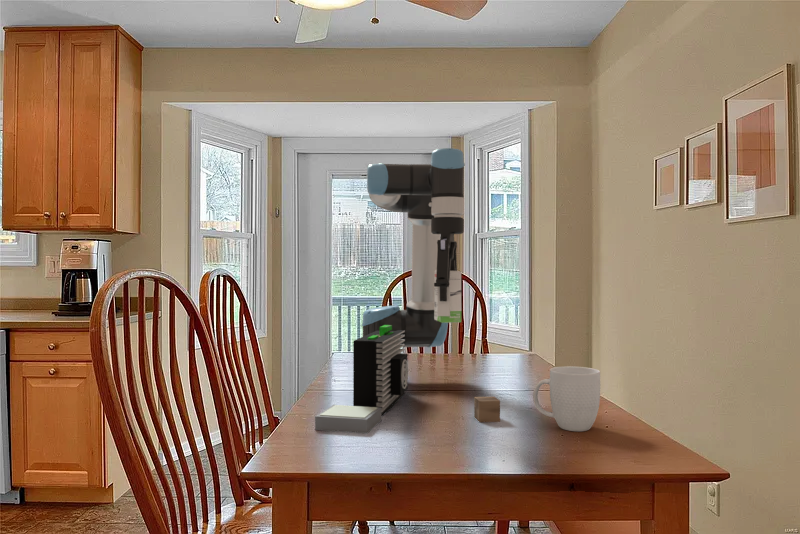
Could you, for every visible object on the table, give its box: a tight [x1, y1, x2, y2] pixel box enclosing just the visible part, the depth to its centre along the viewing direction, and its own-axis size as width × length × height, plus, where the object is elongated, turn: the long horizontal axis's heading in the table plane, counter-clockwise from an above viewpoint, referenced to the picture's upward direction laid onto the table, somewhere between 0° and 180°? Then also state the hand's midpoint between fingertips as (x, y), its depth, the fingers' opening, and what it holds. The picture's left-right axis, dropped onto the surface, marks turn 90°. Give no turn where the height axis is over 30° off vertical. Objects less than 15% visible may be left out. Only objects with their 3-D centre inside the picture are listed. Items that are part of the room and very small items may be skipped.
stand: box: [314, 404, 383, 434], centre depth 150 cm, size 12×12×3 cm
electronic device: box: [352, 325, 409, 417], centre depth 172 cm, size 28×11×20 cm, turn 169°
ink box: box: [434, 270, 463, 324], centre depth 150 cm, size 9×5×12 cm, turn 8°
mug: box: [532, 365, 601, 432], centre depth 148 cm, size 15×11×13 cm
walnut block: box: [473, 396, 501, 423], centre depth 155 cm, size 5×5×5 cm
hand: (447, 314), depth 150 cm, fingers closed on ink box, 9 cm apart
